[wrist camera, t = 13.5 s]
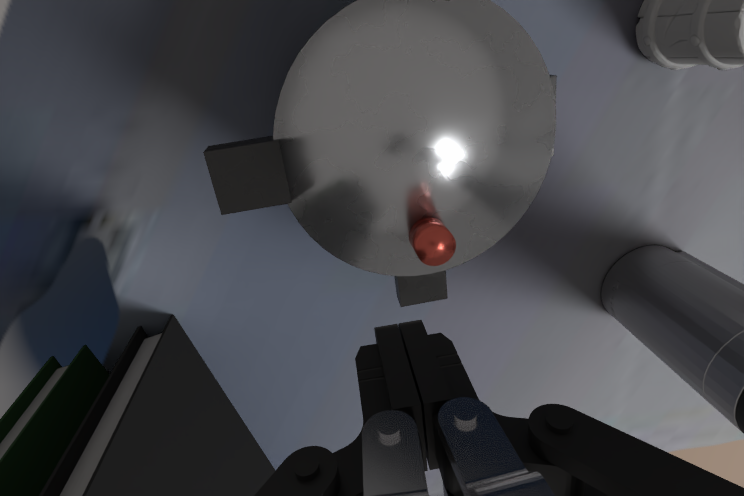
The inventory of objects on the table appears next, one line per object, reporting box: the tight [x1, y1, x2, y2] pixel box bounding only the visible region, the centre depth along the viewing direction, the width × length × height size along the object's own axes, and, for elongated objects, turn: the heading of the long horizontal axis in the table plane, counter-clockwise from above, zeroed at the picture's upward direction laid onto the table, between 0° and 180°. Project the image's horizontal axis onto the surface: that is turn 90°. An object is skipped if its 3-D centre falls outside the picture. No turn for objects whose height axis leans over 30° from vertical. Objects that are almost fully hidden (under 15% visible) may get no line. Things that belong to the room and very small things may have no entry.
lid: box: [203, 0, 556, 276], centre depth 26 cm, size 20×17×4 cm
